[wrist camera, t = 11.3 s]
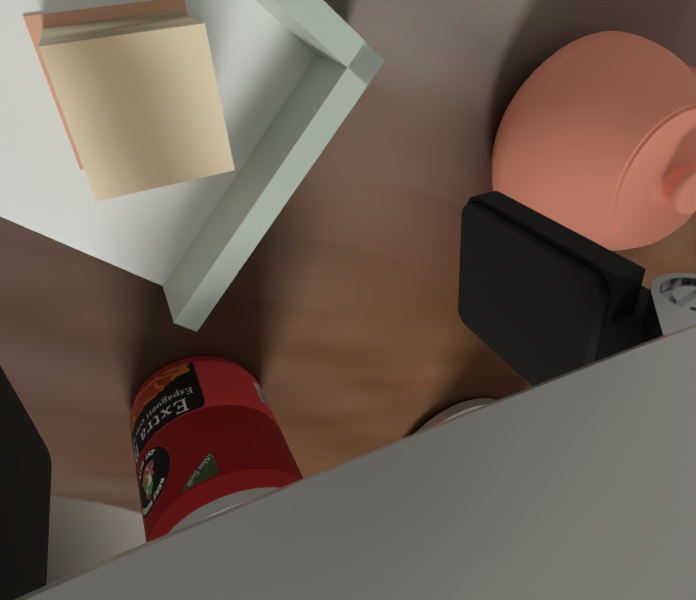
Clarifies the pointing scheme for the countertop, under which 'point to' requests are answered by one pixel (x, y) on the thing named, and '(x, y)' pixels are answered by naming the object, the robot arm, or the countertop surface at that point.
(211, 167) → the cube
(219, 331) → the countertop surface
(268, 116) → the arena
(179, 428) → the canned food
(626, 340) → the robot arm
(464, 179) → the countertop surface
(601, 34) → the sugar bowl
